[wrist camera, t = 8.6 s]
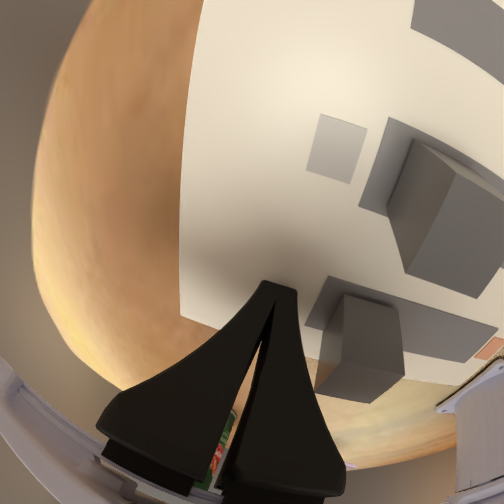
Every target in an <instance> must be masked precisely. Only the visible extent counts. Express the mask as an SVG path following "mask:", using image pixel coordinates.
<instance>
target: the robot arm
mask: <svg viewBox="0 0 504 504" xmlns="http://www.w3.org/2000/svg"><path fill="white" fill-rule="evenodd" d="M260 343H261V345H260ZM259 345H260V349H259V354H258V358H257V362H256V367H255V371H254V375H253V380H252V384H251V388H250V392H249V395H248V399H247V401H246V404H245V407H244V410H243V413H242V416H241V418H240V421H239V424H238V427H237V429H236V432H235V435H234V437H233V440H232V443H231V445H230V448H229V450H228V453H227V456H226V458H225V461H224V463H223V466H222V468H221V471H220V473H219V475H218V478H217V480H216V483H215V485H214V488H215V489H218V490H222V494H221V495H218V494H215V493H212V492H209V491H206V490H203V489H200V488H197V487H194V485H195V483H196V481H197V482H200V483H203V482H204V479H205V477H206V474H207V472H208V470H209V467H210V465H211V462H212V460H213V457H214V454H215V452H216V449H217V447H218V444H219V442H220V439H221V436H222V434H223V431H224V429H225V426H226V423H227V421H228V418H229V415H230V413H231V410H232V407H233V404H234V402H235V399H236V396H237V394H238V391H239V389H240V386H241V384H242V382H243V380H244V378H245V376H246V374H247V371H248V369H249V367H250V365H251V363H252V360H253V358H254V356H255V354H256V352H257V349H258V347H259ZM435 412H436V413H454V414H455V416H456V433H457V470H456V472H457V473H456V486H455V493H457V492H461V491H465V490H468V489H471V490H468V491H465V492H462V493H459V494H456V495H453V496H448V497H447V501H446V502H444V503H440V504H504V360H503V359H498V360H496V361H495V362H493V363H492V364H491V365H490V366H489V367H488V368H487V369H486V370H484V371H483V372H482V373H481V374H480V375H479V376H477V377H476V378H475V379H474V380H473V381H471V382H470V383H469V384H468V385H466V386H465V387H464V388H462V389H461V390H460V391H458V392H457V393H456V394H454V395H453V396H452V397H450V398H449V399H447V400H446V401H445V402H443V403H442V404H440V405H439V406H437V407H436V408H435ZM96 428H97V429H98V430H99V431H100V432H102V433H103V434H105V435H106V436H107V437H108V438H109V440H108V442H107V444H105V443H103V442H101V441H100V440H98V439H97V438H95V437H94V436H92V435H91V434H89V433H88V432H86V431H85V430H83V429H82V428H80V427H79V426H78V425H76V424H75V423H74V422H72V421H71V420H69V419H68V418H67V417H65V416H64V415H63V414H62V413H60V412H59V411H58V410H56V409H55V408H54V407H53V406H52V405H50V404H49V403H48V402H47V401H46V400H44V399H43V398H42V397H41V396H40V395H39V394H38V393H37V392H36V391H35V390H34V389H33V388H32V387H31V386H30V385H29V384H27V383H26V382H25V381H24V380H23V379H22V378H21V377H20V376H19V375H18V374H17V373H16V372H15V371H14V370H13V368H12V367H10V365H9V364H8V363H7V362H6V361H5V360H4V359H3V358H2V357H1V356H0V433H1V435H2V436H3V438H4V439H5V441H6V442H7V443H8V445H9V446H10V447H11V449H12V450H13V451H14V453H15V454H16V455H17V456H18V458H19V459H20V460H21V461H22V463H23V464H24V465H25V466H26V467H27V469H29V471H30V472H31V473H32V474H33V475H34V477H35V478H37V480H38V481H39V482H40V483H41V484H42V485H43V486H44V487H45V488H46V489H47V490H48V491H49V492H50V493H51V494H52V495H53V496H54V497H55V498H56V499H57V500H58V501H59V502H60V503H62V504H168V503H166V502H163V501H160V500H158V499H156V498H153V497H151V496H148V495H146V494H144V493H142V492H140V491H137V490H136V488H137V486H138V485H137V483H136V482H134V481H133V480H131V479H129V478H128V477H126V476H124V475H123V474H121V473H119V472H118V471H116V470H114V469H112V468H110V467H107V466H105V465H103V464H101V462H100V458H101V459H102V460H104V461H105V462H107V463H109V464H110V465H112V466H114V467H116V468H117V469H119V470H121V471H123V472H125V473H127V474H128V475H130V476H132V477H134V478H136V479H138V480H140V481H142V482H144V483H146V484H148V485H150V486H152V487H155V488H157V489H159V490H161V491H164V492H166V493H168V494H171V495H173V496H176V497H179V498H181V499H184V500H186V501H189V502H192V503H195V504H323V503H324V499H325V497H336V496H341V495H342V494H343V493H344V490H345V484H346V465H345V463H344V461H343V459H342V457H341V455H340V453H339V451H338V449H337V447H336V445H335V443H334V441H333V439H332V437H331V435H330V432H329V430H328V428H327V426H326V423H325V420H324V418H323V415H322V413H321V410H320V407H319V405H318V402H317V399H316V396H315V393H314V390H313V387H312V383H311V380H310V376H309V373H308V369H307V364H306V360H305V355H304V351H303V345H302V339H301V333H300V326H299V317H298V292H297V290H296V289H293V288H290V287H287V286H283V285H280V284H277V283H274V282H271V281H268V280H262V281H261V282H260V284H259V286H258V287H257V289H256V291H255V292H254V293H253V295H252V296H251V297H250V299H249V300H248V301H247V302H246V303H245V305H244V306H243V307H242V308H241V309H240V310H239V311H238V312H237V313H236V315H235V316H234V317H233V318H232V319H231V320H230V321H229V322H228V323H227V324H226V325H224V326H223V327H222V328H221V329H220V330H219V331H218V332H217V333H216V334H215V335H214V336H212V337H211V338H210V339H209V340H208V341H206V342H205V343H204V344H203V345H201V346H200V347H199V348H198V349H196V350H195V351H193V352H192V353H191V354H189V355H188V356H186V357H185V358H184V359H182V360H181V361H179V362H178V363H176V364H174V365H173V366H171V367H169V368H168V369H166V370H164V371H163V372H161V373H159V374H157V375H156V376H154V377H152V378H150V379H148V380H146V381H144V382H142V383H140V384H138V385H136V386H133V387H131V388H129V389H127V390H125V391H122V392H120V393H119V394H118V395H117V396H116V397H115V398H114V399H113V400H112V401H111V402H110V403H109V404H108V406H107V407H106V408H105V409H104V411H103V413H102V415H101V416H100V418H99V420H98V422H97V424H96ZM475 487H476V488H475ZM472 488H474V489H472Z"/></svg>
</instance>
